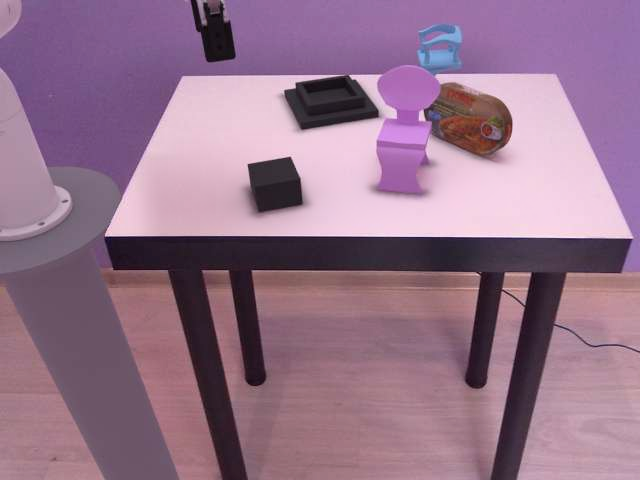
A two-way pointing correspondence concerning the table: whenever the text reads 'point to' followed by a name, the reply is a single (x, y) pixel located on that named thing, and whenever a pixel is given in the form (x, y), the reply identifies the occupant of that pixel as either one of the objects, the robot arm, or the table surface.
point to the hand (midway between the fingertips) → (215, 44)
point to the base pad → (329, 102)
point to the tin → (470, 119)
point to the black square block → (275, 184)
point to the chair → (440, 58)
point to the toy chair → (405, 126)
